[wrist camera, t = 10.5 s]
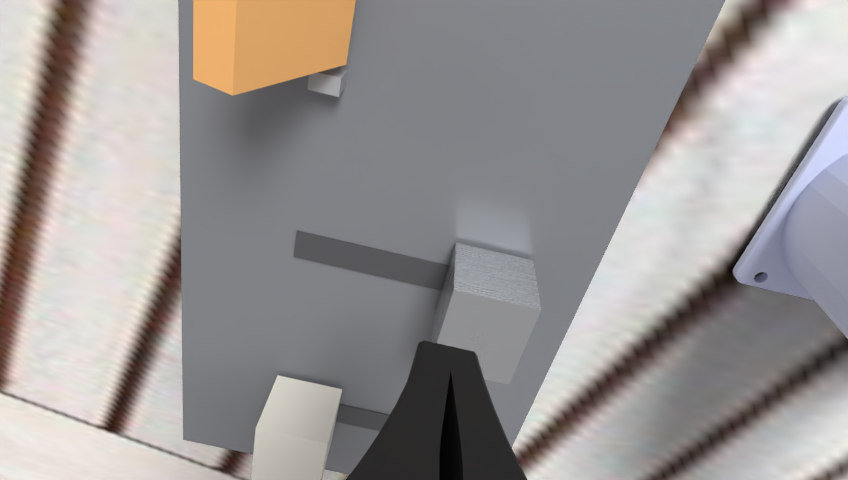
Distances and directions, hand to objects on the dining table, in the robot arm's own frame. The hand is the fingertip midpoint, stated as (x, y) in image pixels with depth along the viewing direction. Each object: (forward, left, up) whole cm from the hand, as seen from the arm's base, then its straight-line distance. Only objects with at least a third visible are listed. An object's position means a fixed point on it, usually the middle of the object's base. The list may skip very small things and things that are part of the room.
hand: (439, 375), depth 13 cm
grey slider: (-2, +3, -8) cm, 9 cm away
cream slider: (+4, +12, -8) cm, 15 cm away
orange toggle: (+5, -6, -8) cm, 11 cm away
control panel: (+2, +3, -10) cm, 11 cm away
